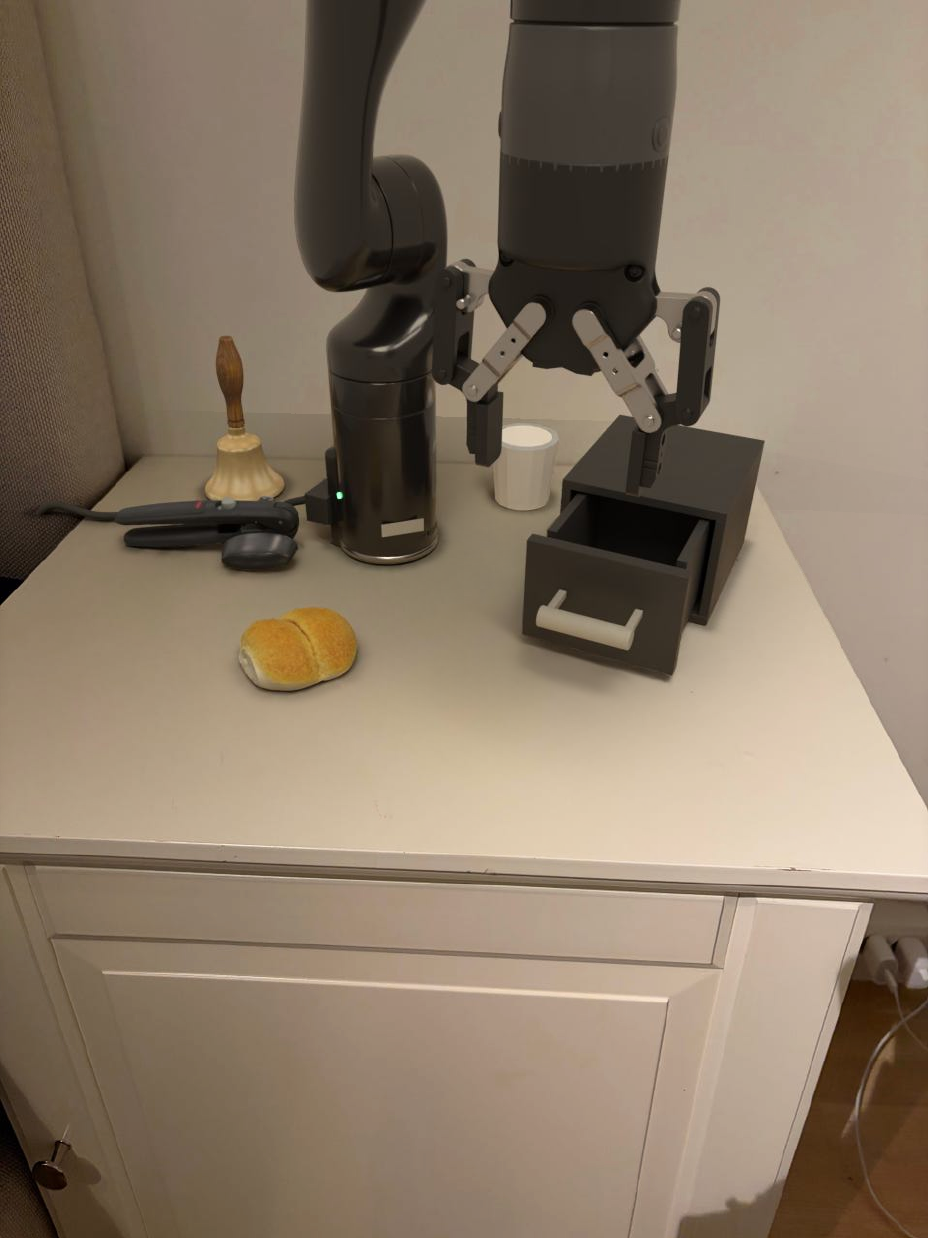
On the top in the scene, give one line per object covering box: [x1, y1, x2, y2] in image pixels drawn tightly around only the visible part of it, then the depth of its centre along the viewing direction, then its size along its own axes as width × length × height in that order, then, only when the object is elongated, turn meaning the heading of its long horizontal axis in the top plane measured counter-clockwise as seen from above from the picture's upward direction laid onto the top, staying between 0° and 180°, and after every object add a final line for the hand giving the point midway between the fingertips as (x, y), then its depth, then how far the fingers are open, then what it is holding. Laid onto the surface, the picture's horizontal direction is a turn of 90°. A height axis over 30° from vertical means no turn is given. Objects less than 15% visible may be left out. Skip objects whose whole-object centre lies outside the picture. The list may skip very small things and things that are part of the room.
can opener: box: [114, 495, 300, 571], centre depth 86 cm, size 18×7×6 cm, turn 80°
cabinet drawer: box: [521, 491, 716, 677], centre depth 74 cm, size 19×12×9 cm, turn 155°
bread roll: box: [238, 606, 358, 692], centre depth 72 cm, size 8×9×4 cm
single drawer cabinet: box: [559, 414, 766, 626], centre depth 83 cm, size 16×14×11 cm
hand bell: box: [204, 335, 286, 501], centre depth 93 cm, size 8×8×16 cm
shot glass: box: [492, 422, 560, 512], centre depth 95 cm, size 7×7×7 cm
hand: (559, 475), depth 51 cm, fingers open, 8 cm apart
